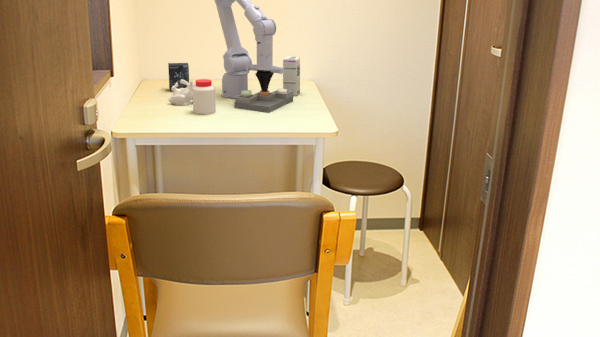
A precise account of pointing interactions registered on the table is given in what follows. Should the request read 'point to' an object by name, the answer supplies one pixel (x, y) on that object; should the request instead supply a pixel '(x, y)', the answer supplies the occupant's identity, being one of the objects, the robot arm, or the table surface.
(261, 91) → the button terracotta
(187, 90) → the rabbit figurine
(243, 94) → the button sage
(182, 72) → the box
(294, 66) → the syrup box
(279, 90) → the button cream
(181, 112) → the table surface
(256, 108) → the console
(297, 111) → the table surface
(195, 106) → the pill bottle
